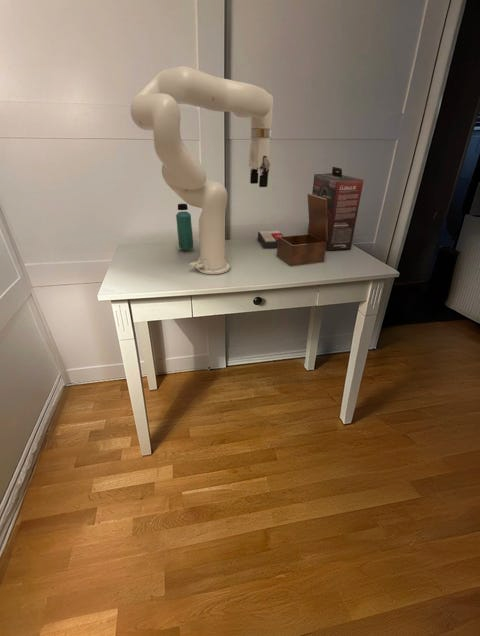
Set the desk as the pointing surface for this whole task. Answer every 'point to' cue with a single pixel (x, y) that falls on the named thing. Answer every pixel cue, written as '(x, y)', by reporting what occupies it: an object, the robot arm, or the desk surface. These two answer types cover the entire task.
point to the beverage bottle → (184, 228)
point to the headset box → (339, 206)
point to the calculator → (269, 238)
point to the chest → (301, 249)
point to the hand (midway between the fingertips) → (258, 185)
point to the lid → (318, 215)
